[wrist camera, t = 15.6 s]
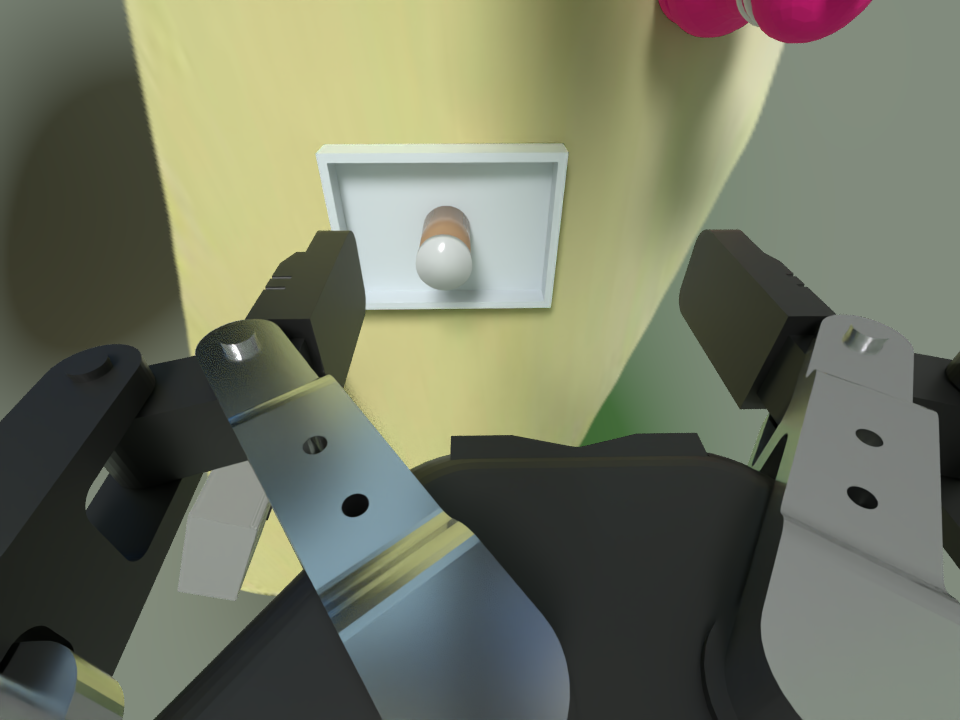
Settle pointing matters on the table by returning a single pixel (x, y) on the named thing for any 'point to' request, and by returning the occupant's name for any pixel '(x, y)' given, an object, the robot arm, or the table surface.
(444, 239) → the shaker
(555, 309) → the table surface
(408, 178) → the tray
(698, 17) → the pepper mill
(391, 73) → the table surface
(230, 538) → the cassette tape recorder
